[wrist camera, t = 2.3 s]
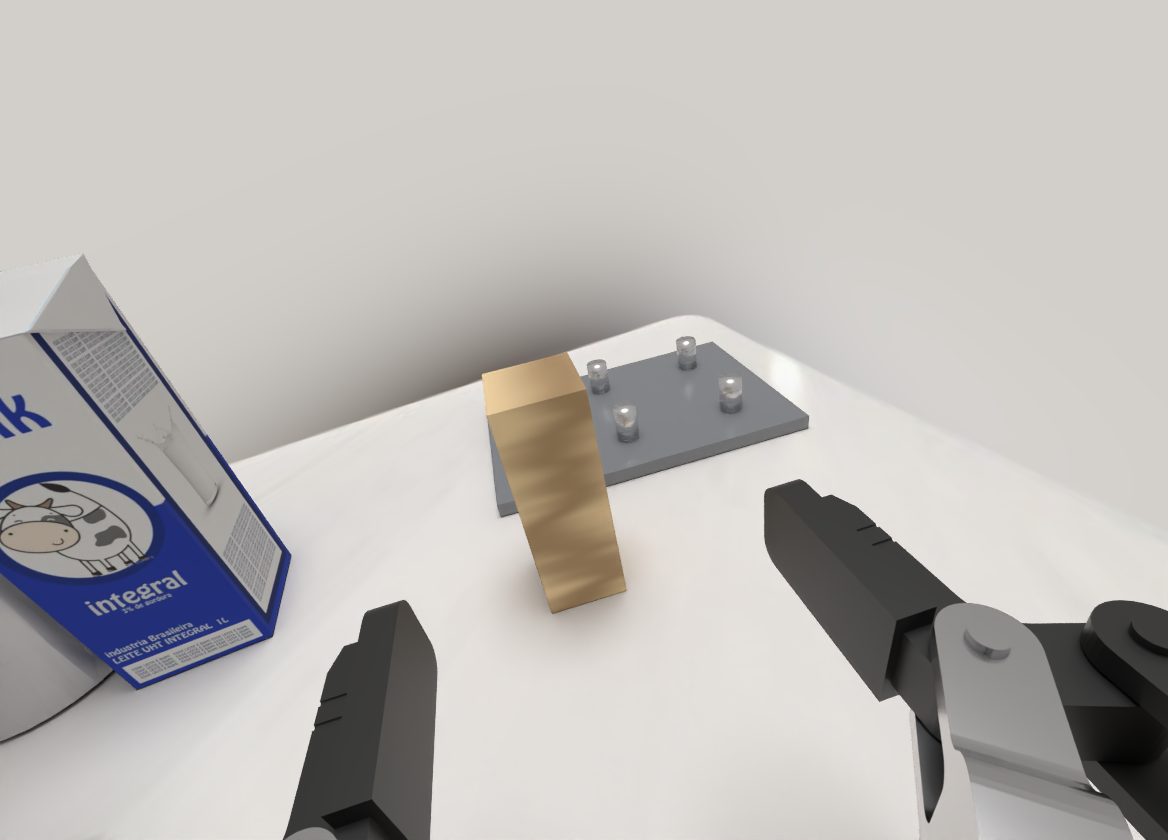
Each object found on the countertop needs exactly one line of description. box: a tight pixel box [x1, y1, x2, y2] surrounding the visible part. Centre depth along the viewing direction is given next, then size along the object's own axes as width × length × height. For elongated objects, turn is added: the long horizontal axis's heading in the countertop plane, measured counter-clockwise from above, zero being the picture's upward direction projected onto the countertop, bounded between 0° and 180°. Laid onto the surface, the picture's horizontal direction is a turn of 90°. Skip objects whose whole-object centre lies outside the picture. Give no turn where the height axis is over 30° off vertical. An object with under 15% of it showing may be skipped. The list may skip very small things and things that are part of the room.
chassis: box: [488, 336, 809, 517], centre depth 39 cm, size 22×15×4 cm
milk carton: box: [0, 253, 291, 691], centre depth 24 cm, size 7×7×20 cm
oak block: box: [482, 352, 626, 614], centre depth 24 cm, size 4×4×12 cm
